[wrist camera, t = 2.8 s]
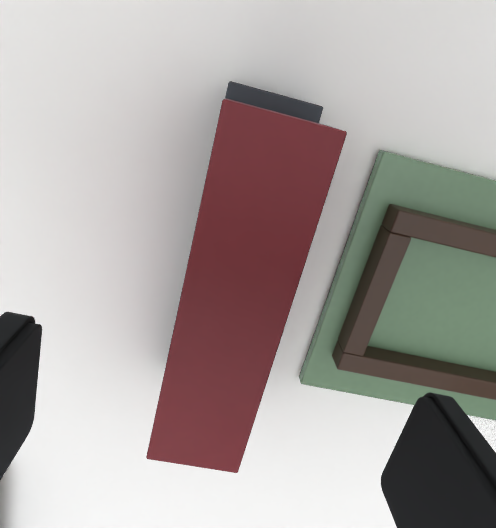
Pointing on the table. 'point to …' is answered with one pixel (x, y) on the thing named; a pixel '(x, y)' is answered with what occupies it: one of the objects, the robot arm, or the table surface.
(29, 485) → the table surface
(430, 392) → the robot arm
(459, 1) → the table surface
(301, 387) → the table surface
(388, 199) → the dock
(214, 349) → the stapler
